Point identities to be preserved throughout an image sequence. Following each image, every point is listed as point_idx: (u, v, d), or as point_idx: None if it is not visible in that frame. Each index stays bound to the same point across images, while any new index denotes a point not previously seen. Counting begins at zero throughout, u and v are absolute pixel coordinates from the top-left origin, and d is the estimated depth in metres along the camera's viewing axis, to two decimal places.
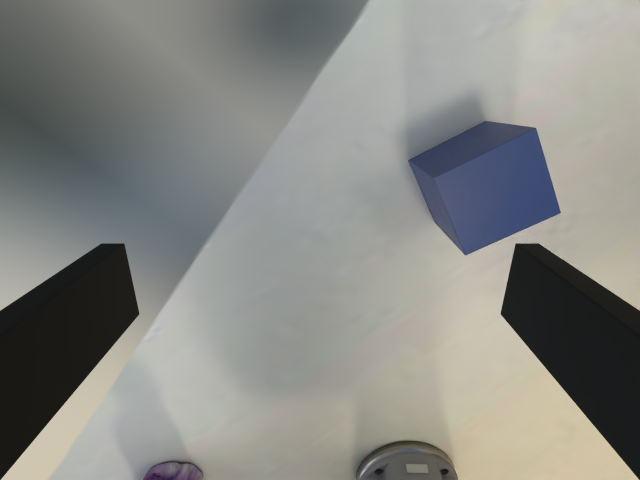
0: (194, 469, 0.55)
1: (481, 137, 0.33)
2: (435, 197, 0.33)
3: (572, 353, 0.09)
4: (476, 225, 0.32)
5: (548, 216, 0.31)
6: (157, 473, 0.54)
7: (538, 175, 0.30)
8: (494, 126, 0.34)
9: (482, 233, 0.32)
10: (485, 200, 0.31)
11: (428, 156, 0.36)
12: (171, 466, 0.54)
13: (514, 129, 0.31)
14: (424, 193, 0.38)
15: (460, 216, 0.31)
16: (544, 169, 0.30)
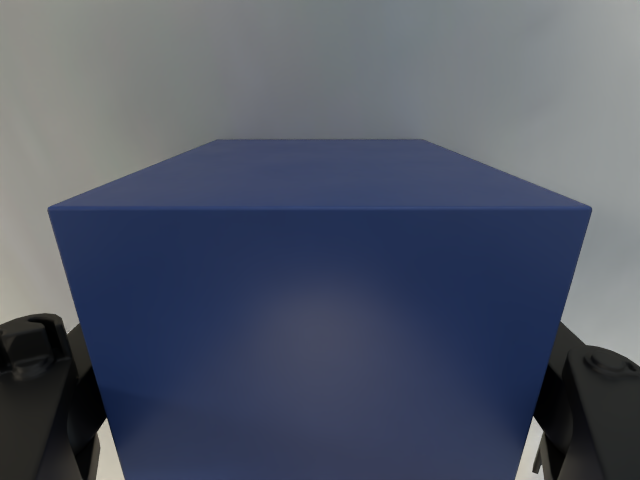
0: None
1: None
2: (382, 172, 0.08)
3: None
4: (214, 316, 0.06)
5: None
6: None
7: None
8: None
9: (162, 326, 0.06)
10: (325, 381, 0.06)
11: None
12: None
13: None
14: (328, 143, 0.12)
15: (305, 259, 0.06)
16: None
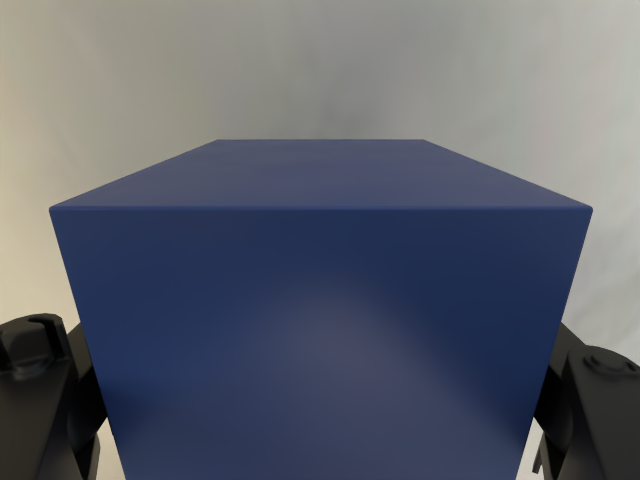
0: None
1: None
2: (382, 172, 0.08)
3: None
4: (214, 317, 0.06)
5: None
6: None
7: None
8: None
9: (163, 326, 0.06)
10: (325, 381, 0.06)
11: None
12: None
13: None
14: (329, 143, 0.12)
15: (306, 260, 0.06)
16: None
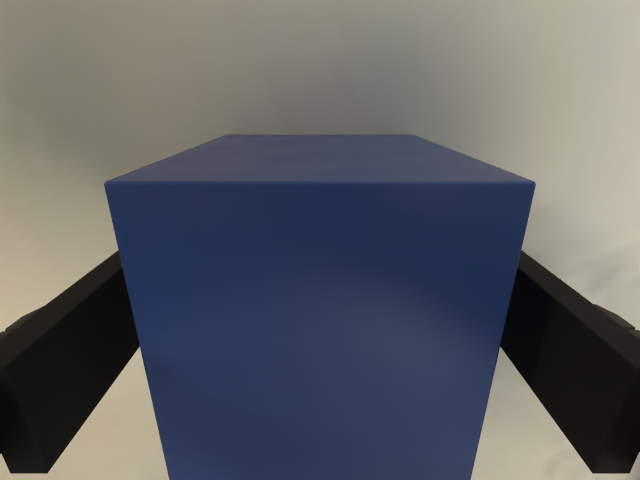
0: None
1: None
2: (372, 159, 0.09)
3: (525, 337, 0.10)
4: (234, 273, 0.07)
5: (174, 472, 0.09)
6: None
7: (325, 477, 0.09)
8: None
9: (192, 281, 0.07)
10: (324, 329, 0.08)
11: None
12: None
13: None
14: (328, 138, 0.14)
15: (309, 225, 0.07)
16: None
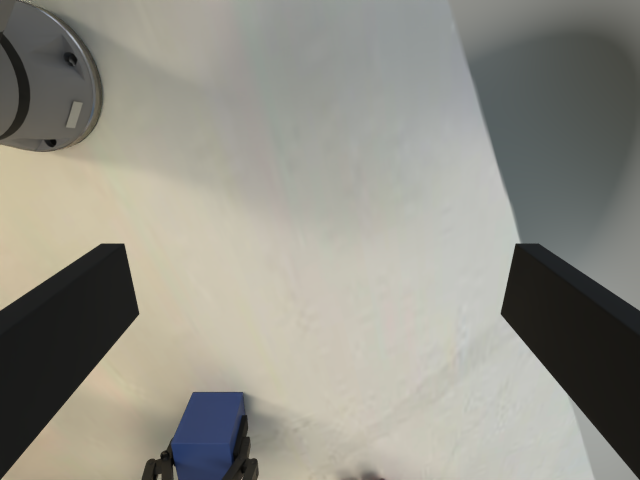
0: None
1: None
2: (215, 427, 0.51)
3: (572, 353, 0.09)
4: (189, 453, 0.50)
5: None
6: None
7: None
8: None
9: (182, 454, 0.50)
10: (203, 460, 0.50)
11: (240, 411, 0.56)
12: None
13: None
14: (217, 399, 0.56)
15: (199, 448, 0.49)
16: None
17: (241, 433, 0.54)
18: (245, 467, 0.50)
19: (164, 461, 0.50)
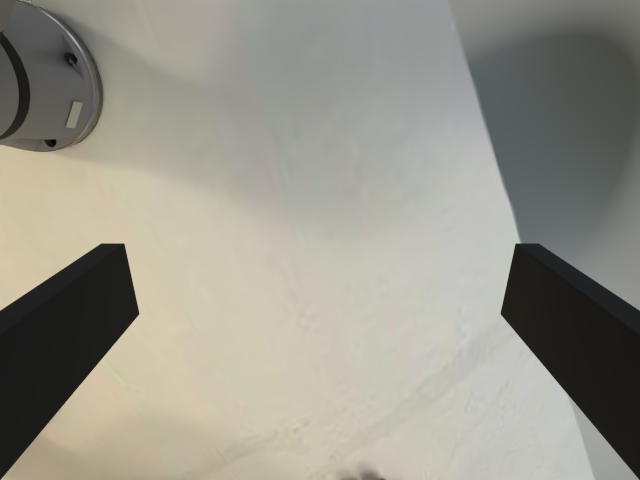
0: None
1: None
2: None
3: (572, 353, 0.09)
4: None
5: None
6: None
7: None
8: None
9: None
10: None
11: None
12: None
13: None
14: None
15: None
16: None
17: None
18: None
19: None
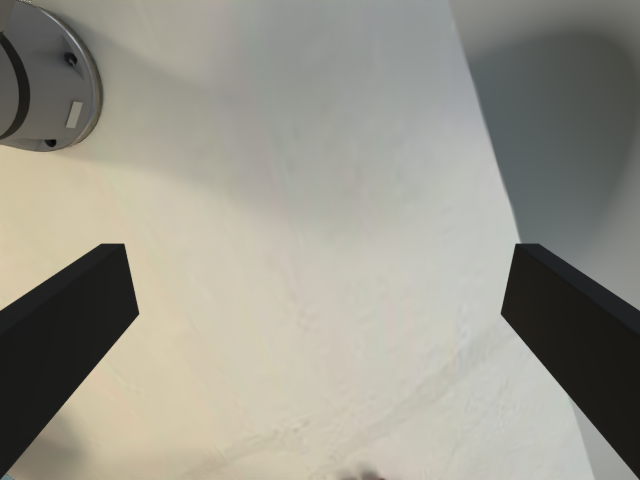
0: None
1: None
2: None
3: (572, 353, 0.09)
4: None
5: None
6: None
7: None
8: None
9: None
10: None
11: None
12: None
13: None
14: None
15: None
16: None
17: None
18: None
19: None
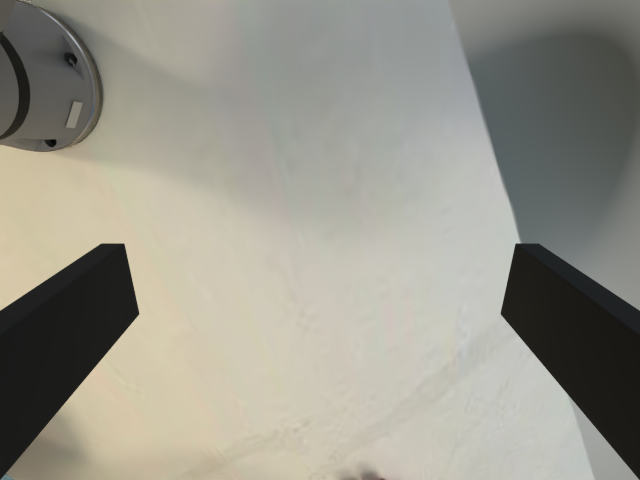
0: None
1: None
2: None
3: (572, 353, 0.09)
4: None
5: None
6: None
7: None
8: None
9: None
10: None
11: None
12: None
13: None
14: None
15: None
16: None
17: None
18: None
19: None
